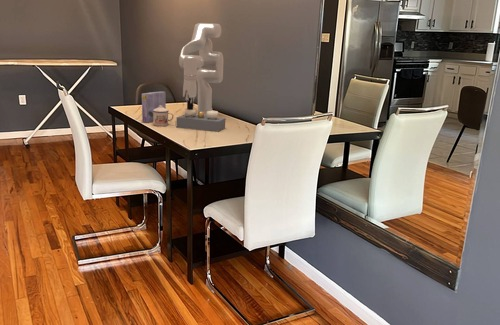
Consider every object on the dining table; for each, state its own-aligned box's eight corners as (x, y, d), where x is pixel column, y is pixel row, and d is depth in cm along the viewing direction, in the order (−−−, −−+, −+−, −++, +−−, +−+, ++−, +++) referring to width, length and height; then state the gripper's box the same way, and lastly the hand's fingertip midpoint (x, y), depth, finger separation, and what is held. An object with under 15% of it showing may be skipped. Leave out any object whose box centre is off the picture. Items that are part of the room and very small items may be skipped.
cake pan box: (161, 117, 297) (160, 90, 292) (167, 118, 295) (167, 91, 290) (141, 122, 280) (140, 93, 275) (147, 123, 278) (147, 94, 273)
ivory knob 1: (187, 123, 277) (187, 108, 275) (197, 124, 276) (197, 109, 273) (182, 124, 271) (182, 109, 269) (192, 125, 270) (193, 110, 267)
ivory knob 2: (209, 125, 273) (209, 110, 271) (219, 126, 272) (219, 111, 269) (204, 127, 268) (205, 111, 265) (215, 128, 266) (215, 112, 263)
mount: (185, 123, 281) (185, 114, 279) (225, 128, 274) (225, 118, 272) (176, 127, 270) (176, 117, 268) (218, 131, 263) (218, 121, 261)
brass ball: (199, 117, 272) (199, 111, 271) (205, 117, 271) (205, 111, 270) (197, 117, 269) (197, 112, 268) (202, 118, 268) (202, 112, 267)
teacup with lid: (153, 126, 269) (153, 106, 266) (152, 123, 278) (152, 104, 275) (174, 126, 273) (174, 106, 269) (172, 123, 281) (172, 104, 278)
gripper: (189, 76, 274) (189, 107, 279) (178, 78, 260) (178, 110, 265) (201, 77, 272) (200, 108, 277) (191, 79, 258) (190, 111, 263)
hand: (190, 109), depth 271 cm, fingers closed
